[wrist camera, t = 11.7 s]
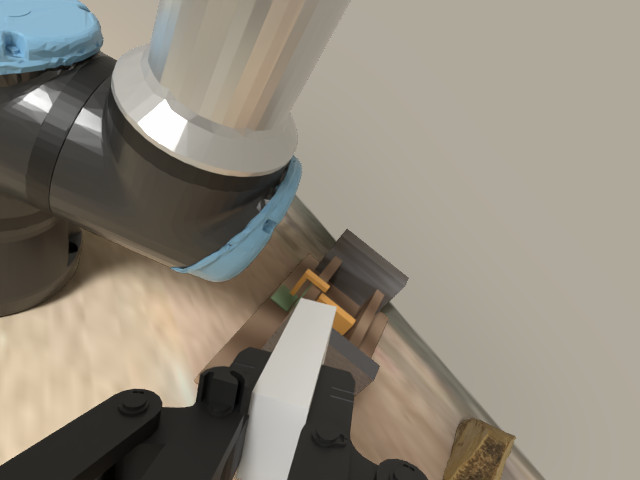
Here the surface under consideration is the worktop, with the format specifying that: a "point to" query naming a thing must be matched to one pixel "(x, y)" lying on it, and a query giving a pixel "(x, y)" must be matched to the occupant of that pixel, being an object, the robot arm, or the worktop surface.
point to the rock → (478, 452)
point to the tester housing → (345, 290)
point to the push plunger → (338, 356)
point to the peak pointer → (327, 302)
